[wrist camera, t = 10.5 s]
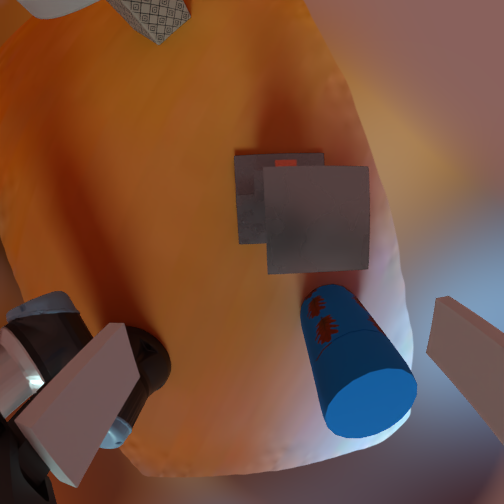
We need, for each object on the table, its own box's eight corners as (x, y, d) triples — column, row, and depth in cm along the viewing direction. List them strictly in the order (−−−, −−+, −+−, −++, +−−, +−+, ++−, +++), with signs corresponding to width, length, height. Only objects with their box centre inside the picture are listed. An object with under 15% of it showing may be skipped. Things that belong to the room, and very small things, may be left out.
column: (265, 221, 37) (267, 274, 14) (263, 180, 35) (262, 167, 13) (306, 219, 36) (368, 269, 14) (304, 179, 35) (368, 166, 13)
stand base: (239, 243, 47) (230, 263, 34) (234, 156, 44) (223, 144, 31) (325, 239, 46) (346, 258, 33) (322, 153, 43) (344, 141, 30)
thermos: (331, 270, 47) (387, 347, 23) (368, 308, 48) (433, 393, 24) (286, 314, 49) (301, 416, 25) (326, 348, 50) (360, 449, 26)
